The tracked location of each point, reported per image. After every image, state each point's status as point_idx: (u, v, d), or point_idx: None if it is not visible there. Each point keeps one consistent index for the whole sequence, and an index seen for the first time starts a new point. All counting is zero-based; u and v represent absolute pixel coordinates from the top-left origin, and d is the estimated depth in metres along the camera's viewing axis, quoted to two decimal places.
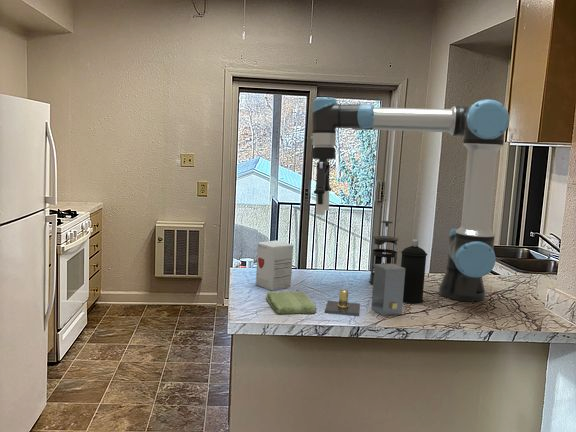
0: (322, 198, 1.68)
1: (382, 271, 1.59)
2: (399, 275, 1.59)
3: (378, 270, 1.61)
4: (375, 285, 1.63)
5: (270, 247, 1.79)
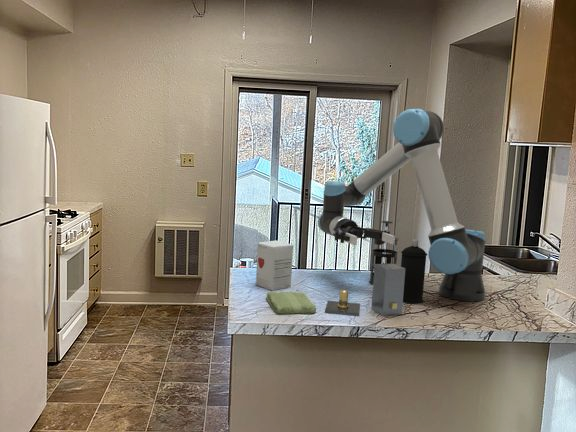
0: (345, 235, 1.71)
1: (382, 271, 1.59)
2: (399, 275, 1.59)
3: (378, 270, 1.61)
4: (375, 285, 1.63)
5: (270, 247, 1.79)
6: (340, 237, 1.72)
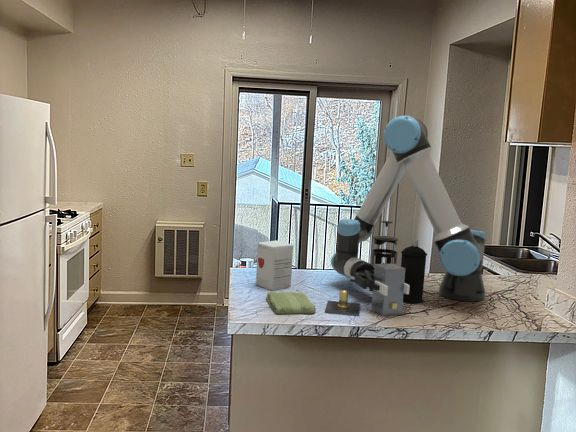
0: (374, 284, 1.60)
1: (382, 271, 1.59)
2: (399, 275, 1.59)
3: (378, 270, 1.61)
4: None
5: (270, 247, 1.79)
6: (369, 285, 1.62)
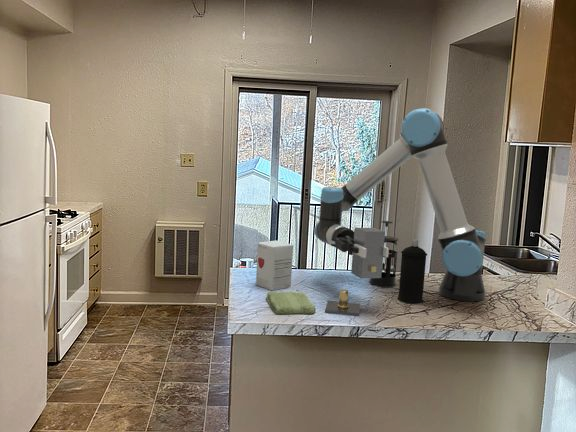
0: (354, 247, 1.60)
1: (361, 234, 1.58)
2: (378, 238, 1.58)
3: (357, 233, 1.60)
4: None
5: (270, 247, 1.79)
6: (348, 248, 1.61)
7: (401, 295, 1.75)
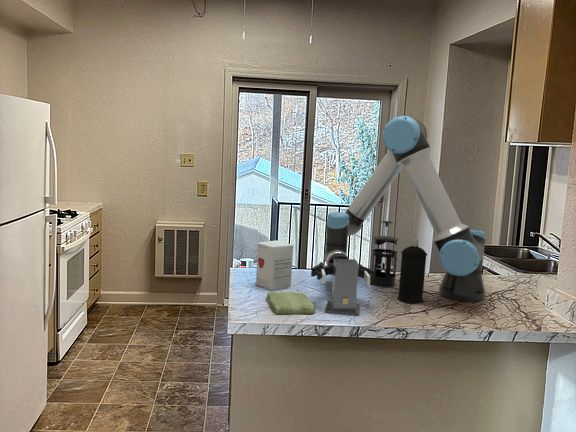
0: (319, 272, 1.63)
1: (335, 265, 1.60)
2: (351, 271, 1.58)
3: (334, 264, 1.62)
4: (333, 279, 1.64)
5: (270, 247, 1.79)
6: (316, 273, 1.65)
7: (401, 295, 1.75)
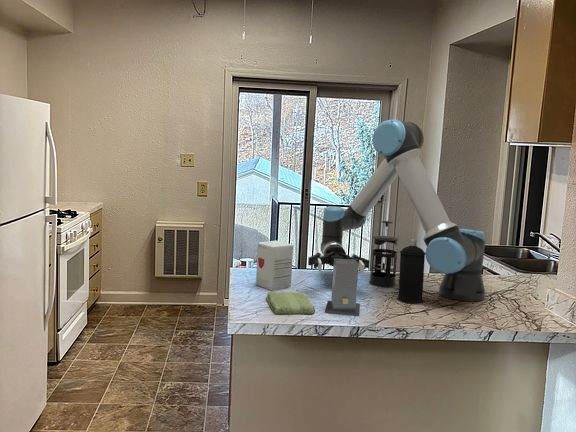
0: (316, 261, 1.76)
1: (335, 265, 1.60)
2: (351, 271, 1.58)
3: (334, 264, 1.62)
4: (333, 279, 1.64)
5: (270, 247, 1.79)
6: (312, 262, 1.77)
7: (401, 295, 1.75)
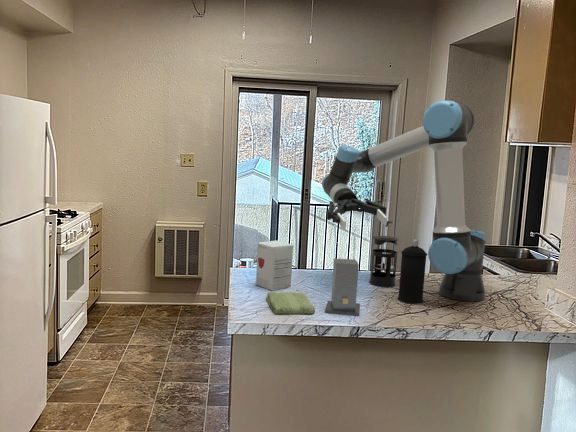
0: (336, 216, 1.72)
1: (335, 265, 1.60)
2: (351, 271, 1.58)
3: (334, 264, 1.62)
4: (333, 279, 1.64)
5: (270, 247, 1.79)
6: (332, 217, 1.73)
7: (401, 295, 1.75)
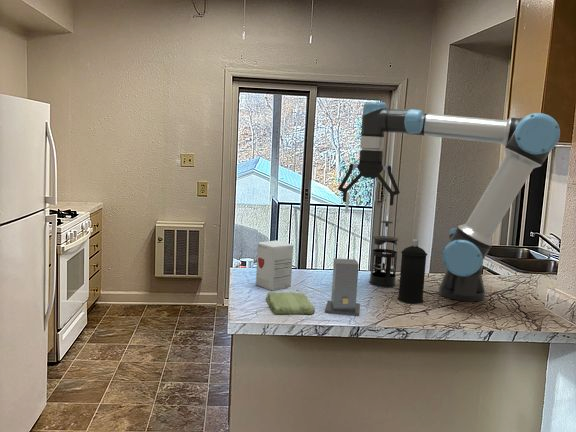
0: (344, 196, 1.81)
1: (335, 265, 1.60)
2: (351, 271, 1.58)
3: (334, 264, 1.62)
4: (333, 279, 1.64)
5: (270, 247, 1.79)
6: (342, 191, 1.82)
7: (401, 295, 1.75)
